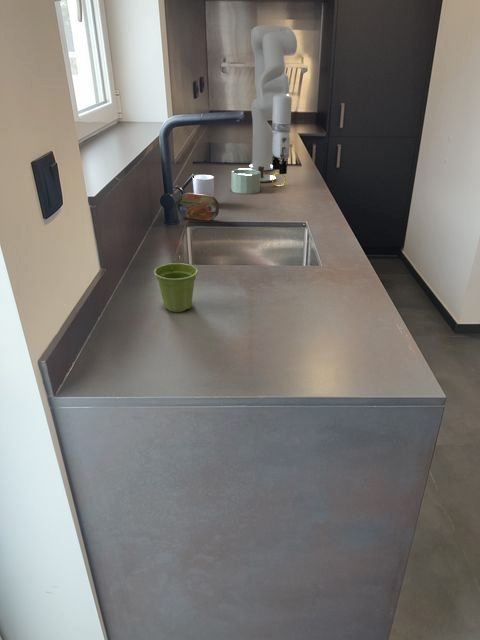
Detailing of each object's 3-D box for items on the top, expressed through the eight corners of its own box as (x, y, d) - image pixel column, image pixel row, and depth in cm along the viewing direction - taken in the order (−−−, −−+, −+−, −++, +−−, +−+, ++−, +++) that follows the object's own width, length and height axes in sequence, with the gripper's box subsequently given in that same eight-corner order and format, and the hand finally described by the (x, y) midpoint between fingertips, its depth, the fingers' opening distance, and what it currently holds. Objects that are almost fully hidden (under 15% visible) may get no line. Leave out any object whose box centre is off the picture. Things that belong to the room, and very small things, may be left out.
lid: (243, 176, 230) (243, 164, 227) (270, 176, 234) (270, 163, 231) (250, 183, 220) (251, 169, 217) (278, 182, 223) (279, 169, 220)
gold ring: (271, 187, 215) (272, 172, 212) (271, 185, 217) (271, 171, 214) (285, 187, 215) (286, 172, 212) (284, 185, 218) (285, 171, 215)
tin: (177, 216, 172) (176, 192, 168) (181, 214, 175) (180, 190, 171) (216, 222, 168) (216, 197, 164) (220, 220, 171) (220, 195, 166)
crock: (228, 187, 212) (228, 169, 208) (255, 186, 215) (256, 168, 211) (234, 194, 202) (235, 175, 198) (263, 193, 205) (263, 174, 201)
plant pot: (159, 297, 116) (156, 262, 112) (199, 297, 117) (198, 262, 113) (155, 316, 108) (151, 279, 104) (198, 315, 109) (197, 279, 105)
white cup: (218, 203, 189) (217, 176, 184) (207, 208, 183) (207, 180, 178) (200, 200, 192) (199, 173, 187) (189, 205, 186) (188, 177, 181)
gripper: (296, 130, 198) (294, 175, 207) (283, 125, 212) (281, 167, 221) (278, 131, 196) (276, 175, 205) (266, 125, 210) (265, 168, 219)
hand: (279, 171), depth 213 cm, fingers open, 9 cm apart
